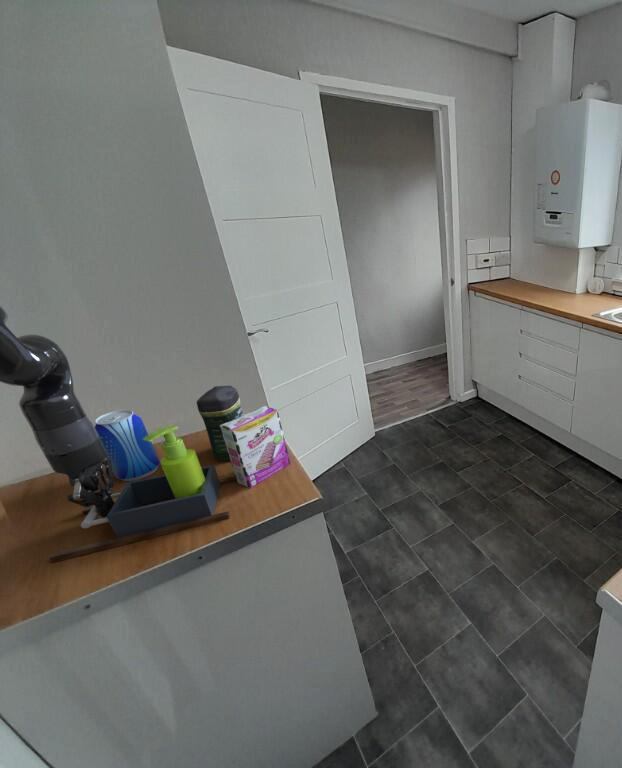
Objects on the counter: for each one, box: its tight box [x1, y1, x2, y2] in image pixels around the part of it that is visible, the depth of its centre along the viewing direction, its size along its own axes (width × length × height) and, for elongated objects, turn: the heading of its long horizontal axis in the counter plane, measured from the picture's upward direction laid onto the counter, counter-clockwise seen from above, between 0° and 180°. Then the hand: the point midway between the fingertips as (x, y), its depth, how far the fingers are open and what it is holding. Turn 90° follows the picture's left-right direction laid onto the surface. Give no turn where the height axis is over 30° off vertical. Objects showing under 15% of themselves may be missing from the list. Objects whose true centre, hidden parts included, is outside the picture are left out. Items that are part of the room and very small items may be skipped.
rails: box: [48, 475, 237, 563], centre depth 87 cm, size 28×15×1 cm, turn 115°
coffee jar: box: [196, 385, 244, 463], centre depth 105 cm, size 10×8×19 cm
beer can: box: [94, 409, 161, 482], centre depth 97 cm, size 8×8×16 cm
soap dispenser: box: [142, 424, 205, 499], centre depth 86 cm, size 6×7×20 cm
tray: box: [80, 464, 222, 538], centre depth 86 cm, size 20×12×6 cm, turn 115°
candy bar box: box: [220, 405, 291, 490], centre depth 97 cm, size 11×5×16 cm, turn 154°
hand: (109, 513), depth 83 cm, fingers closed
